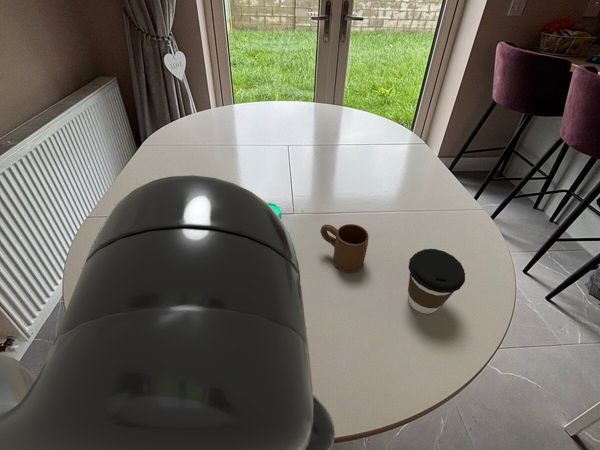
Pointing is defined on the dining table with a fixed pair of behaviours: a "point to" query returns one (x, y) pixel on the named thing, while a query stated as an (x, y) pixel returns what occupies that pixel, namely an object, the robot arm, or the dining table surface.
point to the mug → (347, 245)
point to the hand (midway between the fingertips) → (201, 251)
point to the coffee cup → (433, 279)
